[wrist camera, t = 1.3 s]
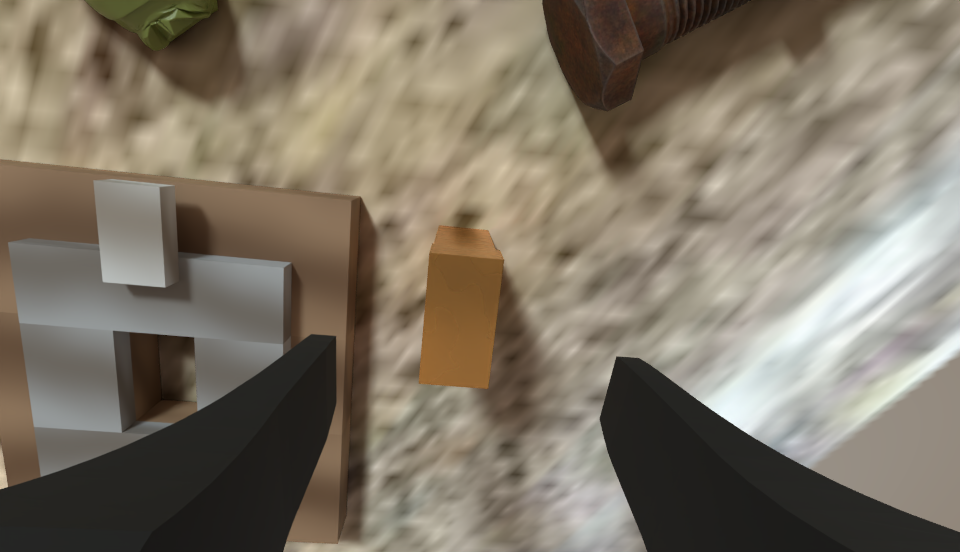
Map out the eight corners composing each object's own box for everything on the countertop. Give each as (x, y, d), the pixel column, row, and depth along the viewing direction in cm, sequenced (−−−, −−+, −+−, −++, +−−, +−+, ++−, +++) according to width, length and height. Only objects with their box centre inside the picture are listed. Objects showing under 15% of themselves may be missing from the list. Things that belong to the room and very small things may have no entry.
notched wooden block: (478, 313, 24) (488, 388, 16) (431, 309, 24) (418, 383, 16) (488, 224, 23) (504, 259, 15) (439, 219, 23) (429, 252, 15)
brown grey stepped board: (346, 515, 27) (327, 576, 23) (48, 498, 26) (-25, 559, 22) (360, 196, 22) (340, 205, 18) (1, 159, 21) (-101, 160, 17)
